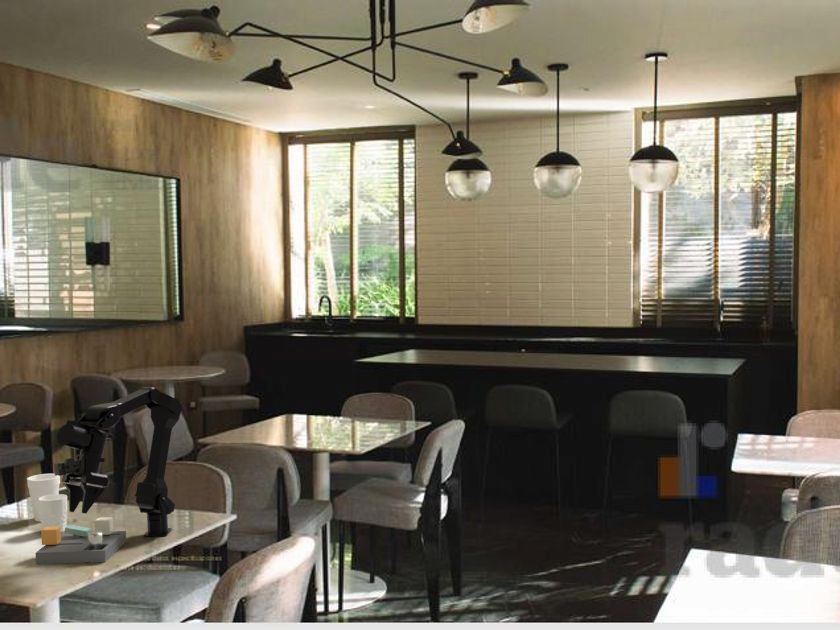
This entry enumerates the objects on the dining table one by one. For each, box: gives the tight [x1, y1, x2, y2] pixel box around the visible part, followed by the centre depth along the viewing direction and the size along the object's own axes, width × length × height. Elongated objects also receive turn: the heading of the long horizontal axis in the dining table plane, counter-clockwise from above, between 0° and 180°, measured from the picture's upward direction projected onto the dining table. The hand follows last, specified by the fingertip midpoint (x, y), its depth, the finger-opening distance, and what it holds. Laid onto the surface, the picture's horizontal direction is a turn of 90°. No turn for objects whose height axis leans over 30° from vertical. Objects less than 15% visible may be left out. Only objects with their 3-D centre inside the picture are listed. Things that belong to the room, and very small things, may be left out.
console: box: [35, 530, 127, 565], centre depth 248 cm, size 18×18×4 cm
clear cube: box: [88, 530, 103, 550], centre depth 243 cm, size 4×4×4 cm
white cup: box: [38, 493, 68, 533], centre depth 270 cm, size 8×8×10 cm
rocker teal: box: [63, 524, 91, 537], centre depth 253 cm, size 3×6×2 cm, turn 91°
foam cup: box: [26, 473, 61, 522], centre depth 284 cm, size 10×9×13 cm
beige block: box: [94, 516, 114, 535], centre depth 254 cm, size 3×4×4 cm
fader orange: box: [40, 527, 62, 546], centre depth 246 cm, size 3×4×4 cm
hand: (77, 512), depth 238 cm, fingers open, 9 cm apart
